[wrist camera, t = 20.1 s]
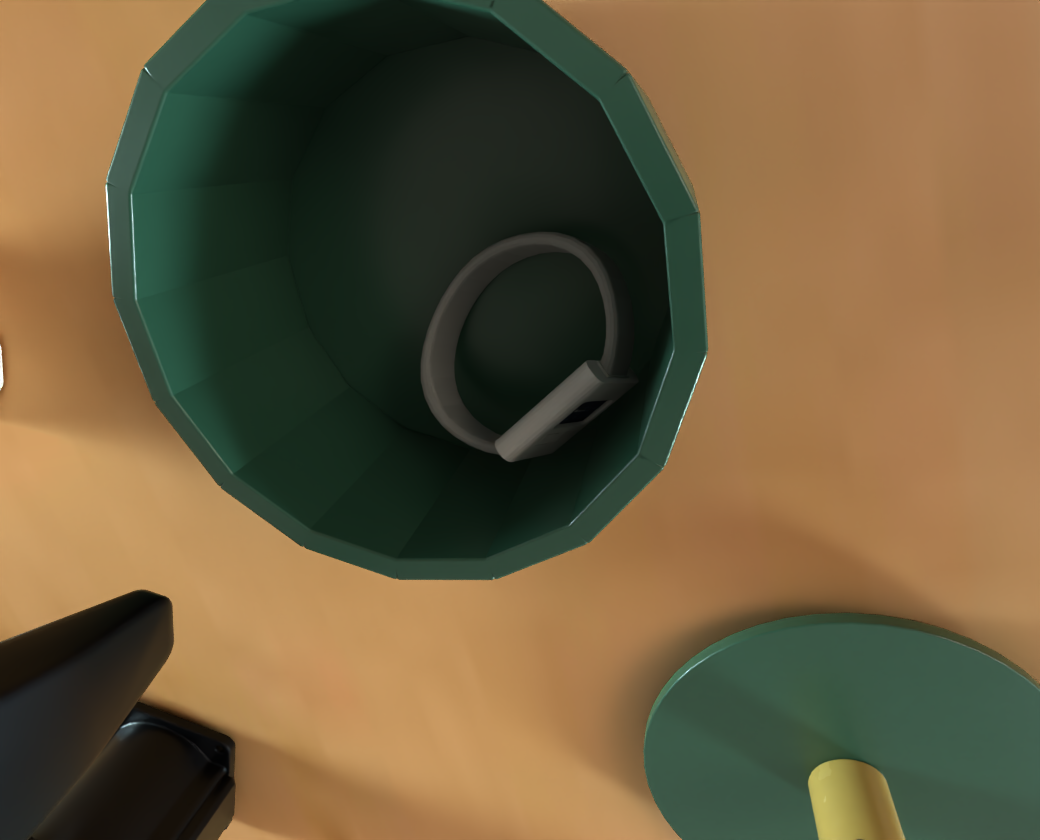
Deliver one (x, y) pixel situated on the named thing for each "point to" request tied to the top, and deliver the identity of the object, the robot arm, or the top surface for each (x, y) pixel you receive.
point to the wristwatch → (570, 399)
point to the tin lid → (847, 736)
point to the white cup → (1, 369)
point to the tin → (400, 269)
